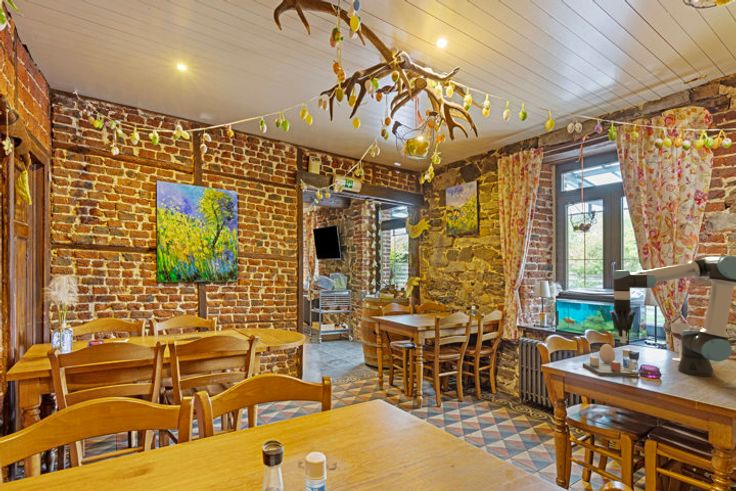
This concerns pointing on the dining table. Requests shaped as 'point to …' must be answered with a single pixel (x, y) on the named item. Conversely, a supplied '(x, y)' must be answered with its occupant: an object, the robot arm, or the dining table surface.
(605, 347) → the egg
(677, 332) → the wineglass
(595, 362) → the fader
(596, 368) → the beige flat board
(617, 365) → the fader
